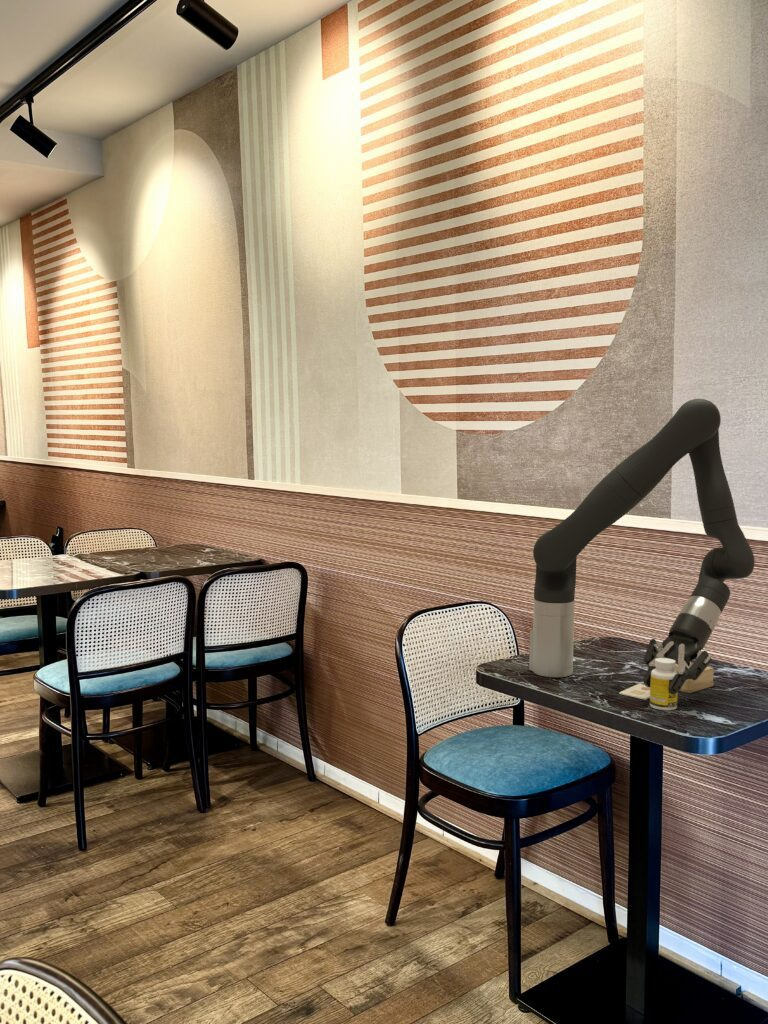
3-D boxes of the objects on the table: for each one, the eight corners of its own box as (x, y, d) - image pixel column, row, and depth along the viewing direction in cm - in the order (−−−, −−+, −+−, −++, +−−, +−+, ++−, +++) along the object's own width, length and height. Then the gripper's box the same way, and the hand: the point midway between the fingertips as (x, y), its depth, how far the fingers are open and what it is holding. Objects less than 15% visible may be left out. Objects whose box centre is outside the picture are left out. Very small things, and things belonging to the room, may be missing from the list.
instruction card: (619, 693, 193) (619, 692, 193) (638, 684, 199) (639, 683, 199) (645, 699, 189) (645, 697, 189) (664, 690, 195) (664, 688, 195)
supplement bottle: (670, 713, 180) (672, 665, 179) (645, 707, 184) (646, 660, 183) (681, 706, 184) (683, 659, 183) (656, 701, 188) (657, 655, 187)
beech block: (652, 683, 201) (653, 665, 200) (677, 676, 206) (678, 659, 206) (688, 693, 193) (689, 675, 193) (713, 685, 199) (714, 668, 198)
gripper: (659, 606, 192) (621, 670, 186) (719, 618, 181) (682, 686, 175) (673, 627, 196) (637, 690, 190) (733, 640, 185) (697, 707, 179)
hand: (658, 688), depth 182 cm, fingers closed on supplement bottle, 5 cm apart
